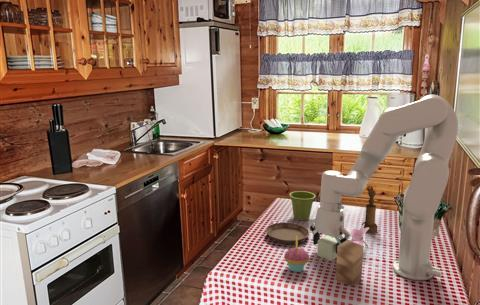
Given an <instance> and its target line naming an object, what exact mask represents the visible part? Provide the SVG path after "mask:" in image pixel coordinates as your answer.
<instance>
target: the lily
mask: <svg viewBox="0 0 480 305" xmlns="http://www.w3.org/2000/svg"><path fill="white" fill-rule="evenodd" d="M363 223H364V222H363ZM364 224H365V223H364ZM364 224H363V225H362V224H361V226H360V227H359V229H358V228H352V229H351V232H350V234H351V236H350V237H351V239H350V240H349V241H351V242H354V243H357V244H360V245H363V246H364V244H365V246H366V248H367V249H369V246H368V245H367V243H366V241H365V240H364V235H365V234H366V233H367V232H366V231H367V230H368V229H369V228H364Z"/></svg>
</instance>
